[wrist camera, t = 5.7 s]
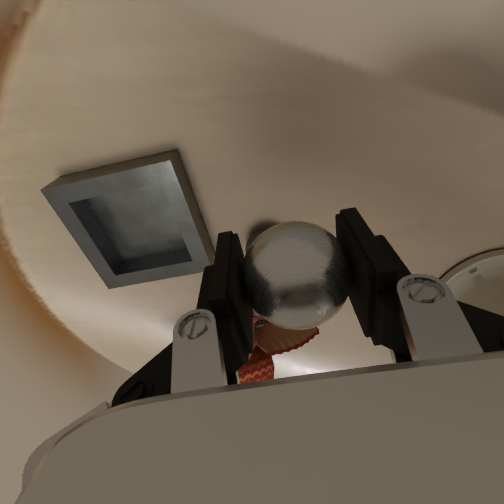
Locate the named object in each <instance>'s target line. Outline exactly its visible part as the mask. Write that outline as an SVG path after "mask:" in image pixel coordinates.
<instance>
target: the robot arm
mask: <svg viewBox="0 0 504 504" xmlns="http://www.w3.org/2000/svg"><path fill="white" fill-rule="evenodd" d="M335 217H336V239H337V240H338V241H339V242H340V243H341V245H342V246H343V248H344V249H345V251H346V253H347V255H348V258H349V262H350V266H351V273H352V277H351V287H350V291H349V294H348V296H349V298H350V301H351V303H352V306H353V308H354V311H355V313H356V315H357V318H358V320H359V323H360V325H361V328H362V330H363V333H364V335H365V337H371V339H372V341H373V344H374V346H375V345H383V346H385V347H387V348H389V349H390V354H391V358H392V362H393V364H386V365H378V366H370V367H362V368H354V369H347V370H339V371H331V372H324V373H316V374H308V375H301V376H293V377H285V378H278V379H270V380H263V381H256V382H248V383H241V384H240V381H239V375H238V371H237V370H238V369H239V368H240V367H241V366H242V365H243V364H245V363H249V354H252V353H253V307H252V306H251V304H250V303H249V301H248V299H247V297H246V294H245V292H244V287H243V282H242V267H243V262H244V254H243V251H242V247H241V244H240V240H239V237H238V234H237V233H236V234H233V232H232V231H228V232H223V233H219V234H218V240H217V246H216V252H215V259H214V265H210V266H206V267H205V268H204V273H203V278H202V283H201V288H200V293H199V298H198V303H197V308H196V310H193V311H190V312H188V313H186V314H185V315H183V316H182V317H181V318H180V319H179V320H178V321H177V323H176V324H175V326H174V330H173V342H172V343H171V344H169V345H168V346H167V347H166V348H165V349H164V350H162V351H161V352H160V353H159V354H158V355H156V356H155V357H154V358H153V359H152V360H150V361H149V362H148V363H147V364H146V365H145V366H143V367H142V368H141V369H140V370H139V371H137V372H136V373H135V374H134V375H133V376H132V377H130V378H129V379H128V380H127V381H126V382H125V383H124V384H123V385H122V386H121V387H120V388H119V389H118V391H117V392H116V394H115V396H114V398H113V400H112V401H111V402H110V403H107V402H106V401H105V402H103V403H102V404H100V405H99V406H97V407H96V408H94V409H93V410H91V411H89V412H88V413H86V414H85V415H83V416H82V417H80V418H79V419H77V420H76V421H74V422H73V423H71V424H70V425H68V426H66V427H65V428H63V429H62V430H61V431H59V432H58V433H56V434H55V435H53V436H51V437H50V438H48V439H47V440H45V441H44V442H43V443H42V444H41V445H39V446H38V447H37V448H36V449H35V451H34V452H33V453H32V454H31V455H30V457H29V459H28V461H27V463H26V464H25V467H24V471H23V476H22V477H23V478H22V491H21V493H20V495H19V497H18V499H17V500H16V502H15V504H504V249H501V250H495V251H490V252H487V253H484V254H480V255H478V256H475V257H473V258H471V259H468V260H466V261H465V262H463V263H461V264H459V265H458V266H456V267H455V268H453V269H452V270H451V271H449V272H448V273H447V274H446V275H445V276H444V277H443V278H441V279H438V278H436V277H433V276H430V275H425V274H413V275H412V274H411V273H410V271H409V270H408V268H407V267H406V266H405V264H404V263H403V262H402V260H401V259H400V257H399V256H398V255H397V253H396V252H395V251H394V249H393V248H392V246H391V245H390V244H389V242H388V241H387V240H386V238H385V237H384V236H383V235H377V236H374V234H373V233H372V231H371V230H370V228H369V227H368V225H367V224H366V222H365V221H364V219H363V218H362V217H361V215H360V214H359V212H358V211H357V209H356V208H355V207H354V208H348V209H343V210H340V214H336V216H335Z"/></svg>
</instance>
